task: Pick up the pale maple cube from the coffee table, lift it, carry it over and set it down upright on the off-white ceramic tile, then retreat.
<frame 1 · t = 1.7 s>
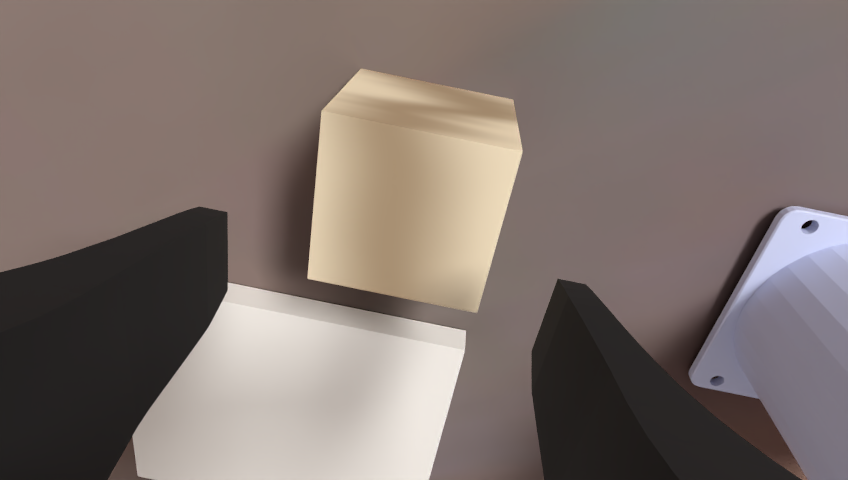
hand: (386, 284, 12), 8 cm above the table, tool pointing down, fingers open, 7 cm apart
ceramic tile: (289, 400, 25), on the table
maple cube: (423, 155, 19), on the table
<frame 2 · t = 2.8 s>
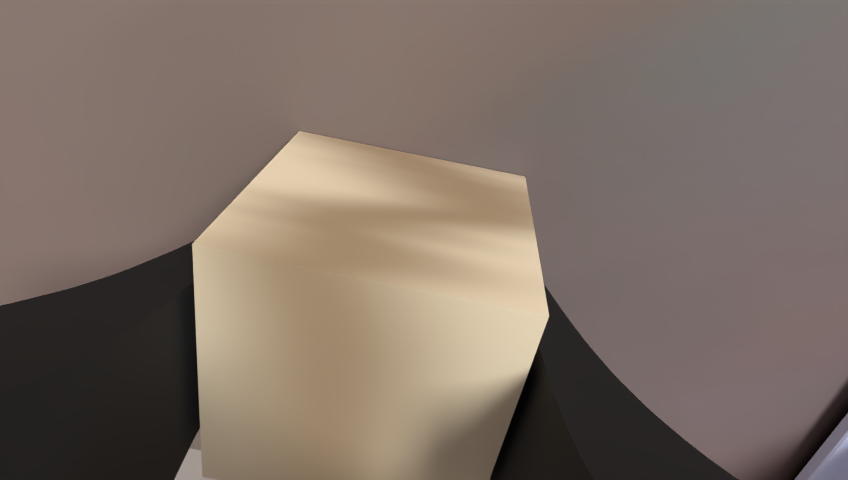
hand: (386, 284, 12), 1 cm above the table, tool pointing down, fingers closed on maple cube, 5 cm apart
maple cube: (395, 250, 13), on the table, touching gripper
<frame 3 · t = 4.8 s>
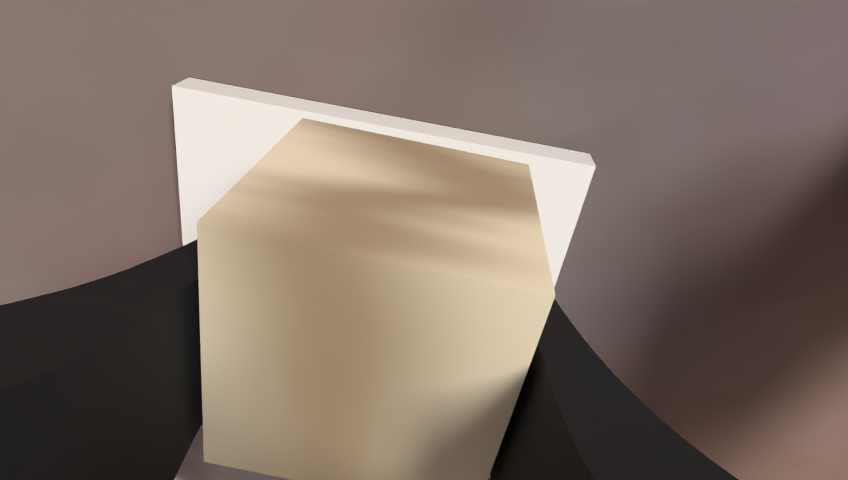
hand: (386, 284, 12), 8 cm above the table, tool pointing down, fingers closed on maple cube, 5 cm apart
ceramic tile: (369, 261, 22), on the table
maple cube: (397, 239, 13), point 7 cm above the table, touching gripper
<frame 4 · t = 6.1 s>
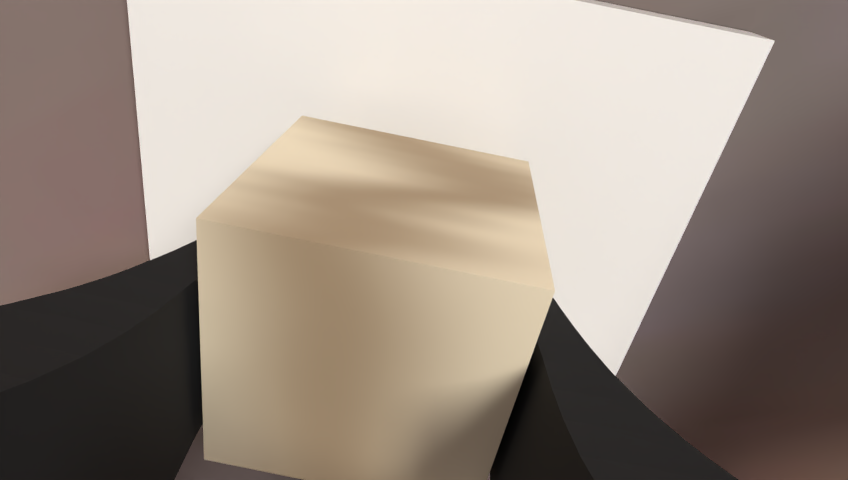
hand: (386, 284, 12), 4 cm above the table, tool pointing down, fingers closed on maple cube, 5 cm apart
ceramic tile: (408, 203, 15), on the table
maple cube: (397, 237, 13), point 3 cm above the table, touching gripper
when the fingers open (4 cm above the table, at t = 6.9 s): maple cube drops 1 cm, resting on ceramic tile.
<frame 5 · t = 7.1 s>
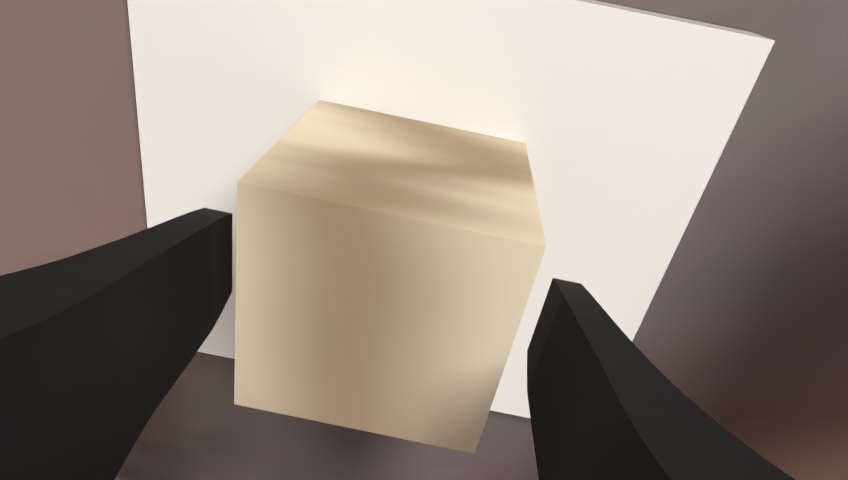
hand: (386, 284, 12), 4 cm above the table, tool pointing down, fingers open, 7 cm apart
ceramic tile: (408, 203, 15), on the table
maple cube: (405, 213, 14), point 1 cm above the table, touching ceramic tile
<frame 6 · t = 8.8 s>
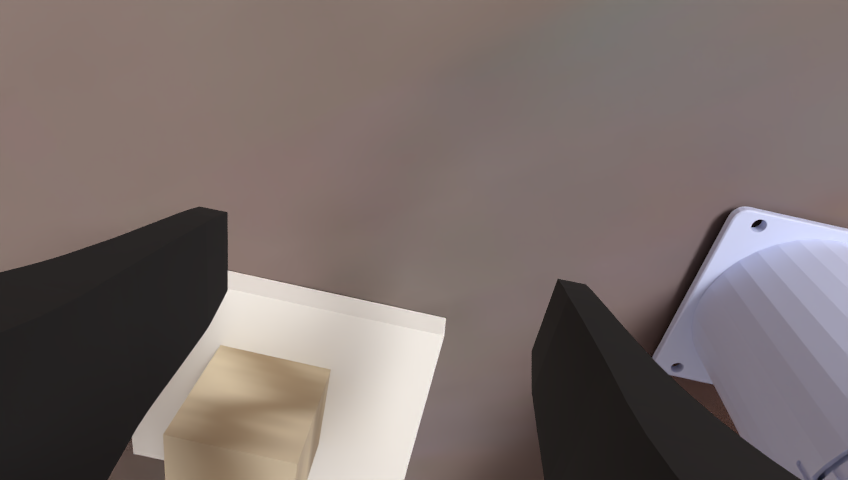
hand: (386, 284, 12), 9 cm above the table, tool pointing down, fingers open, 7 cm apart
ceramic tile: (279, 383, 27), on the table
maple cube: (272, 396, 25), point 1 cm above the table, touching ceramic tile
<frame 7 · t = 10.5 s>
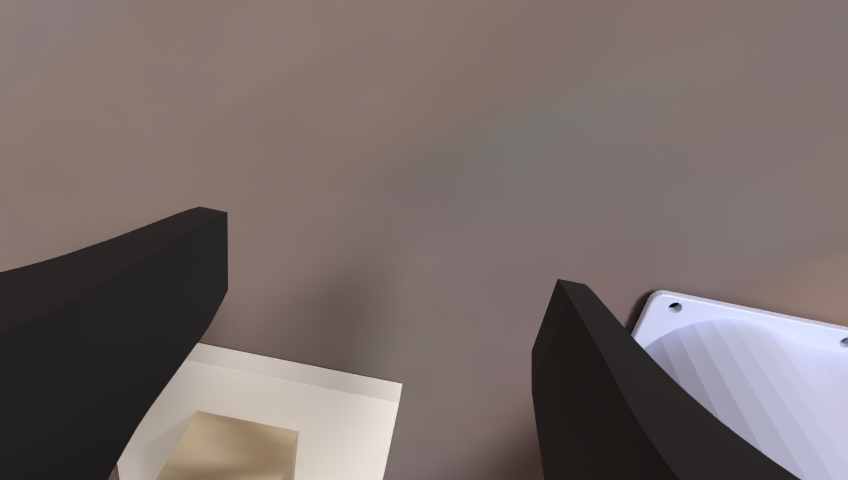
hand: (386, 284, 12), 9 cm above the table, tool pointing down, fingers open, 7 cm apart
ceramic tile: (255, 439, 29), on the table
maple cube: (247, 454, 28), point 1 cm above the table, touching ceramic tile
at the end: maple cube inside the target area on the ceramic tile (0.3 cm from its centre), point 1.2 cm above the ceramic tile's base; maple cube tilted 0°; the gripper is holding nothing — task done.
